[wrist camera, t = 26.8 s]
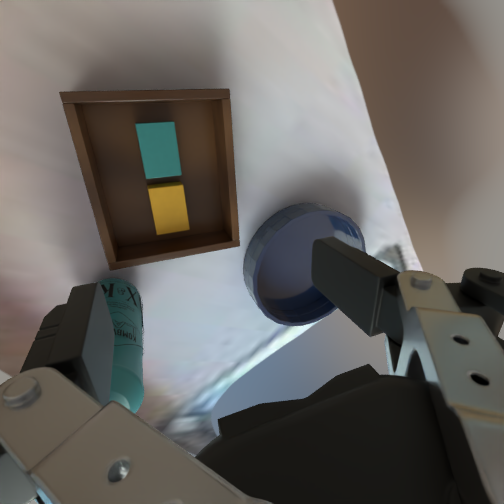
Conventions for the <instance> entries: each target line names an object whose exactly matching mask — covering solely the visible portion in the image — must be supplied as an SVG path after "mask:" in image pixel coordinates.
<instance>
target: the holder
mask: <svg viewBox="0 0 504 504" xmlns="http://www.w3.org/2000/svg"><path fill="white" fill-rule="evenodd" d="M59 93H60V97H61V100H62V103H63V108H64V111H65V115H66V118H67V122H68V125H69V129H70V132H71V136H72V139H73V143H74V146H75V150H76V153H77V157H78V160H79V164H80V167H81V171H82V174H83V178H84V181H85V185H86V188H87V192H88V196H89V199H90V203H91V206H92V210H93V213H94V217H95V220H96V224H97V227H98V231H99V234H100V238H101V241H102V245H103V248H104V252H105V255H106V259H107V262H108V266H109V269H110V270H116V269H121V268H126V267H132V266H137V265H142V264H148V263H153V262H158V261H163V260H169V259H174V258H179V257H185V256H190V255H195V254H201V253H206V252H211V251H216V250H222V249H227V248H232V247H238V246H240V240H239V225H238V210H237V195H236V179H235V164H234V149H233V134H232V119H231V104H230V99H229V98H230V90H229V89H180V90H125V91H70V92H59ZM169 121H173V122H174V124H175V131H176V138H177V145H178V152H179V158H180V165H181V172H182V175H178V176H168V177H159V178H150V179H146V176H145V172H144V167H143V161H142V156H141V151H140V146H139V141H138V136H137V131H136V126H135V123H150V122H169ZM179 181H180V182H181V183H182V184H183V187H184V194H185V201H186V208H187V215H188V222H189V230H185V231H179V232H173V233H167V234H161V235H157V233H156V228H155V223H154V218H153V213H152V208H151V202H150V197H149V192H148V187H147V185H153V184H162V183H170V182H179Z"/></svg>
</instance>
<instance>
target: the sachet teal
mask: <svg viewBox="0 0 504 504" xmlns="http://www.w3.org/2000/svg"><path fill="white" fill-rule="evenodd" d="M135 126H136V131H137V136H138V141H139V146H140V151H141V156H142V161H143V167H144V172H145V176H146V179H150V178H159V177H168V176H178V175H182V172H181V165H180V158H179V152H178V145H177V138H176V131H175V124H174V122H173V121H169V122H150V123H135Z"/></svg>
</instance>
